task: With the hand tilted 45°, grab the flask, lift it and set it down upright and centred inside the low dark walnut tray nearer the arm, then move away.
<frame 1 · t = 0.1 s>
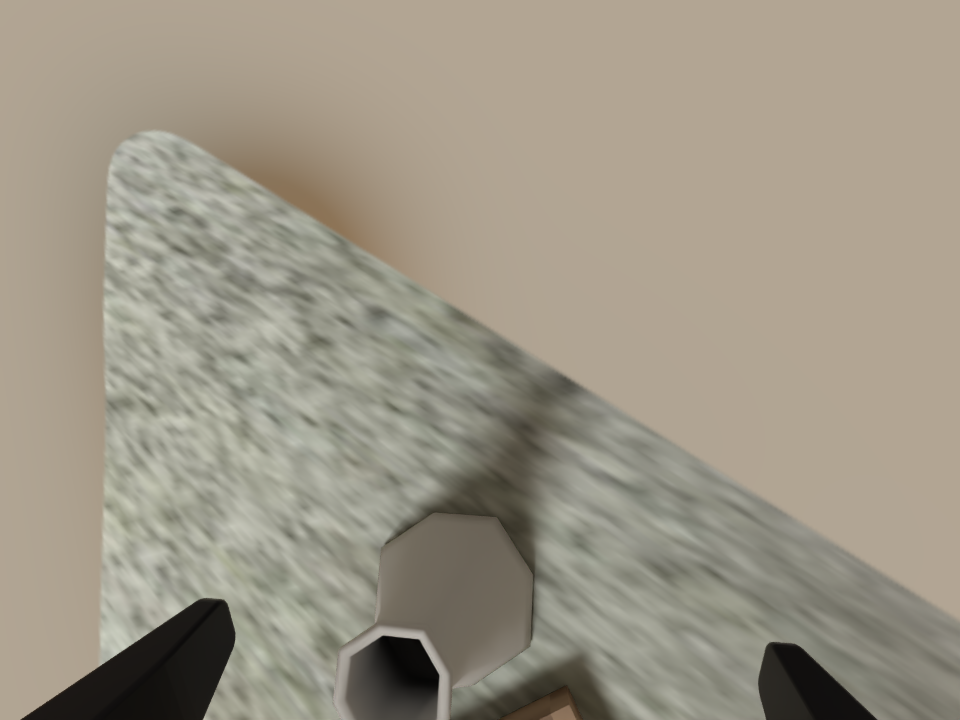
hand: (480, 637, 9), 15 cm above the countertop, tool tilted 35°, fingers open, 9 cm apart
flask: (455, 592, 23), on the countertop
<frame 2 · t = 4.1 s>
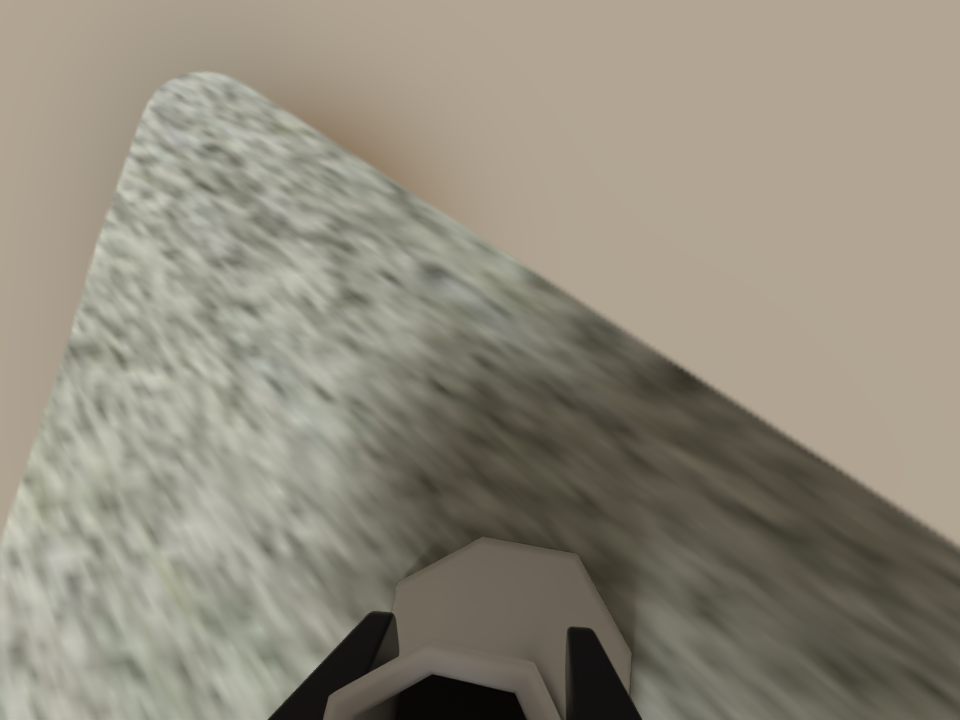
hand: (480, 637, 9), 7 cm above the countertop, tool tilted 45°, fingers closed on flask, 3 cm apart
flask: (502, 670, 15), on the countertop, touching gripper
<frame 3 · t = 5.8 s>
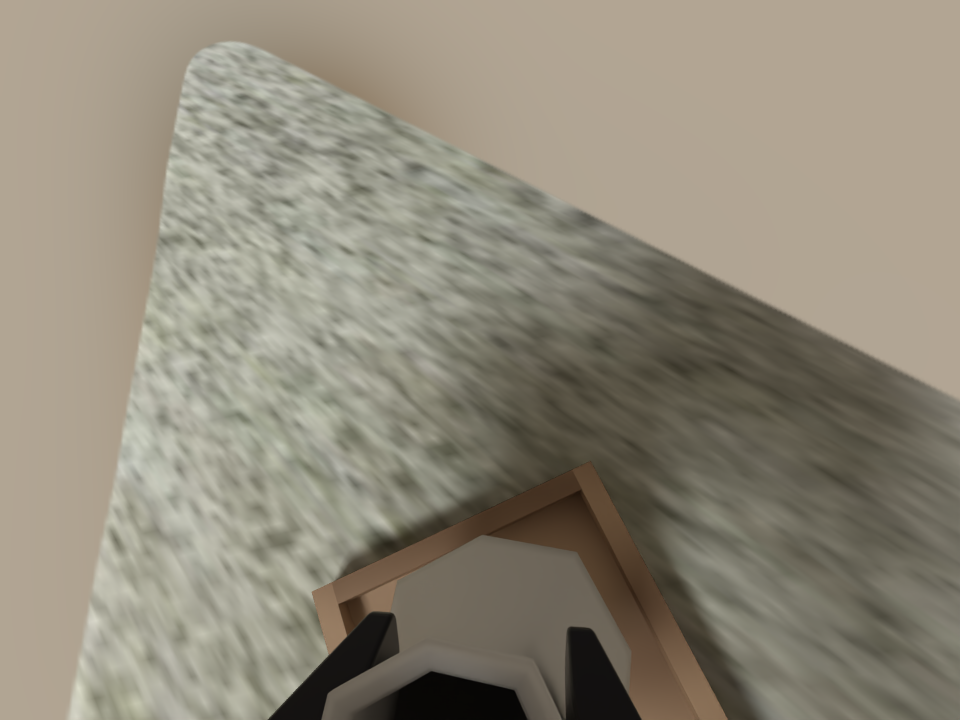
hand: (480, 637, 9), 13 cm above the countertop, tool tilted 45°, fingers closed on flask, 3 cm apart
flask: (502, 668, 15), point 5 cm above the countertop, touching gripper
walnut tray: (520, 679, 19), on the countertop
when the fingers open (9 cm above the countertop, at t = 7.5 s): flask stays where it is, resting on walnut tray.
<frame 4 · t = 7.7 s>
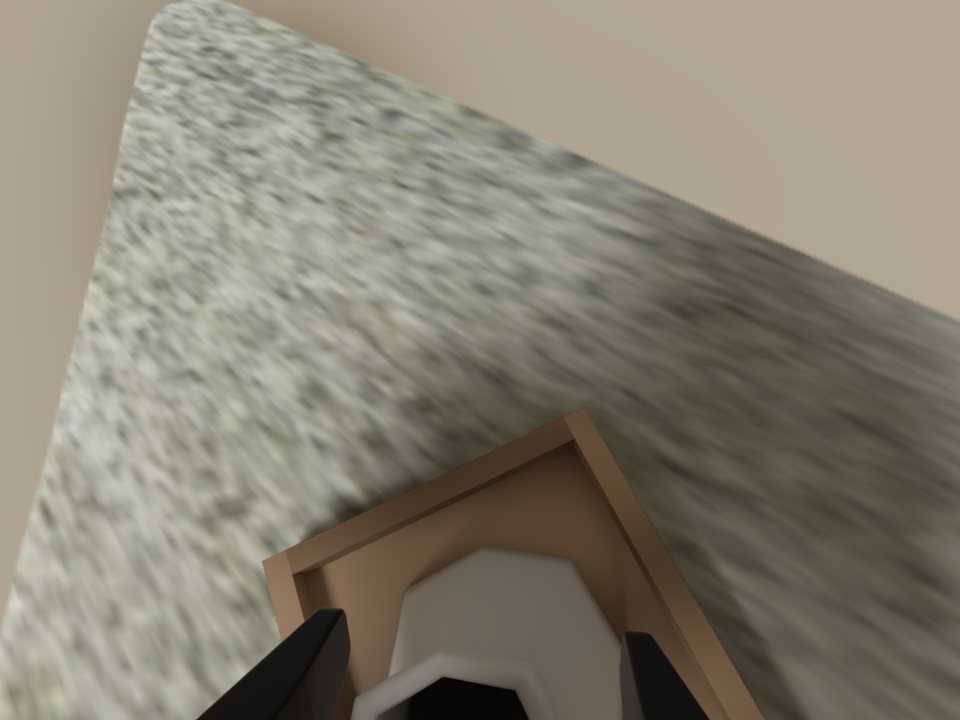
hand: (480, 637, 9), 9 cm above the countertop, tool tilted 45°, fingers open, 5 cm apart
flask: (504, 670, 16), point 1 cm above the countertop, touching walnut tray
walnut tray: (506, 660, 16), on the countertop
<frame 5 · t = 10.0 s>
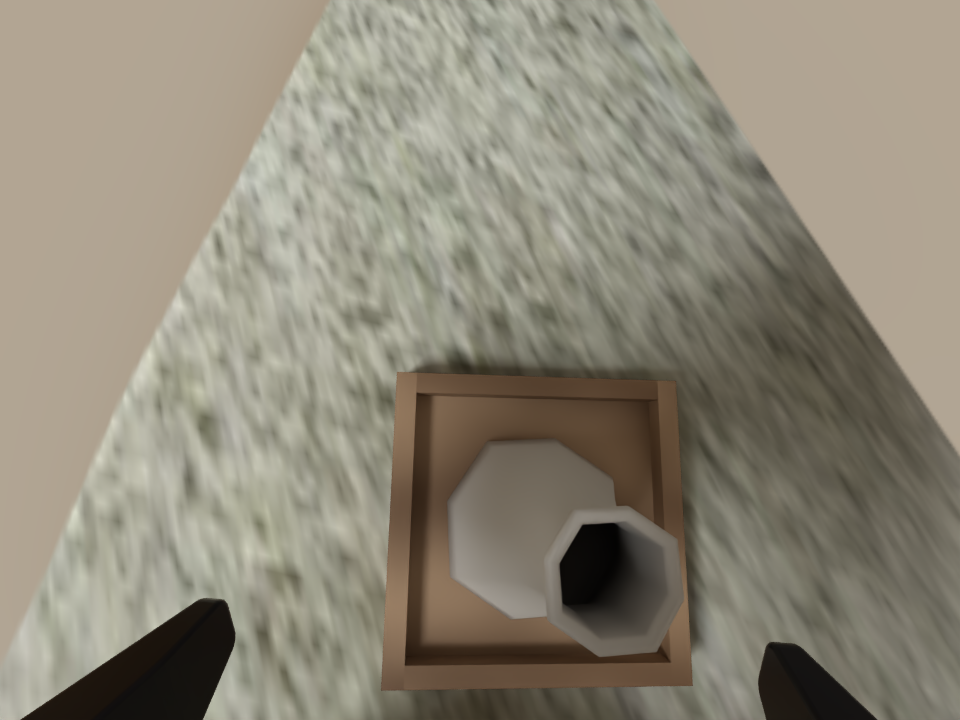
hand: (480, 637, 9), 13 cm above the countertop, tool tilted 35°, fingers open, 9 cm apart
flask: (531, 524, 21), point 1 cm above the countertop, touching walnut tray
walnut tray: (531, 518, 22), on the countertop
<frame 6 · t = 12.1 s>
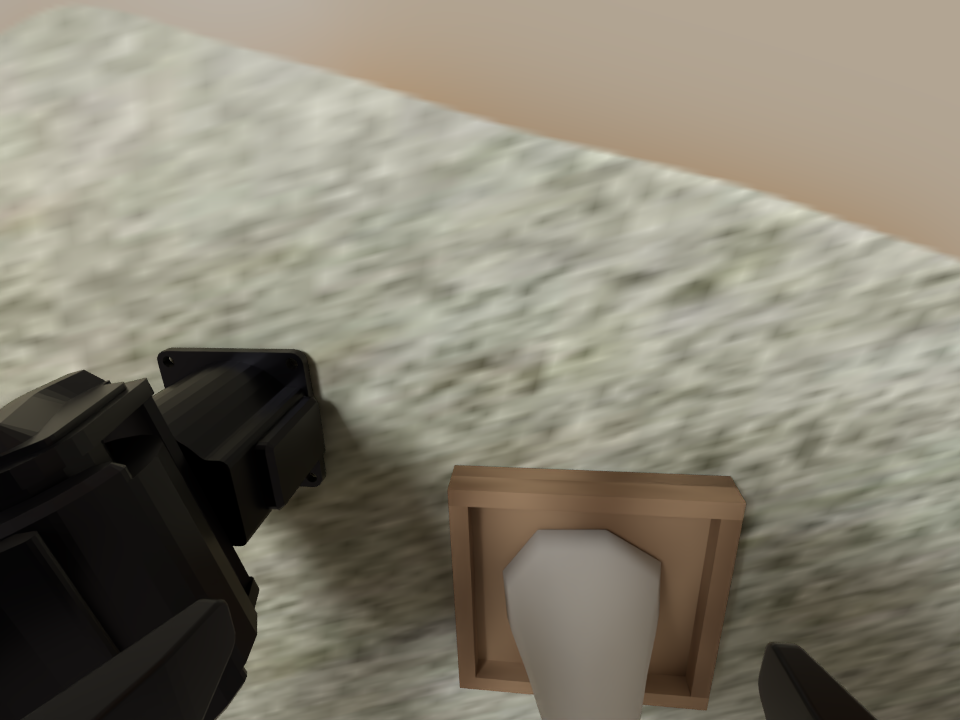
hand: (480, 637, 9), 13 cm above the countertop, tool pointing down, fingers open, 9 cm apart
flask: (579, 583, 24), point 1 cm above the countertop, touching walnut tray
walnut tray: (582, 576, 24), on the countertop
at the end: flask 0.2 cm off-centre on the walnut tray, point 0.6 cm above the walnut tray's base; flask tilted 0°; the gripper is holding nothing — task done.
